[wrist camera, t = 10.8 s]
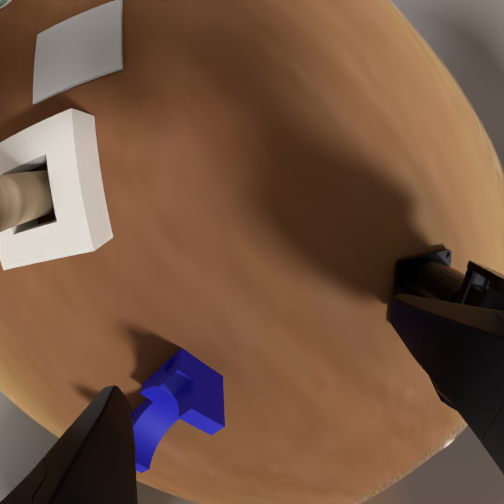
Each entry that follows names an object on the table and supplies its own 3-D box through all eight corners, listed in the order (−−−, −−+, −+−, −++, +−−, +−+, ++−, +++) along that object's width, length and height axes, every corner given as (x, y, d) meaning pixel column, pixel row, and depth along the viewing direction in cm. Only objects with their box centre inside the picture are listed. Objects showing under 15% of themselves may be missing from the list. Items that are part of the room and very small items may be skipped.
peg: (59, 161, 17) (-71, 173, 5) (76, 197, 18) (-52, 240, 6) (32, 184, 17) (-90, 215, 5) (48, 219, 18) (-70, 274, 6)
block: (94, 116, 16) (71, 108, 13) (113, 237, 19) (94, 251, 16) (8, 152, 16) (-18, 153, 12) (27, 256, 18) (3, 270, 15)
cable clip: (182, 347, 22) (173, 397, 16) (222, 375, 23) (224, 426, 18) (114, 408, 24) (100, 451, 18) (149, 429, 25) (141, 472, 19)
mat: (122, 0, 13) (121, -2, 13) (123, 69, 15) (121, 67, 15) (39, 35, 13) (37, 34, 13) (35, 104, 15) (32, 103, 15)
